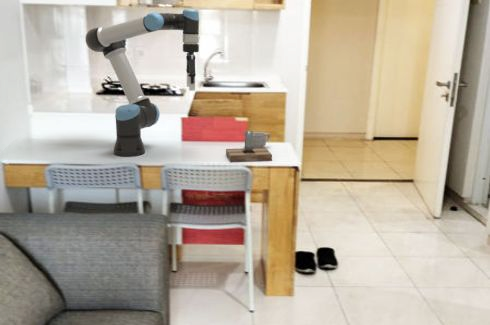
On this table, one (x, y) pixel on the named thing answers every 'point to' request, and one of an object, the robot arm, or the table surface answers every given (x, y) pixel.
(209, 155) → the table surface
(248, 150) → the peg
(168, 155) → the table surface
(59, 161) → the table surface
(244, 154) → the socket block
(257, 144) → the teacup
